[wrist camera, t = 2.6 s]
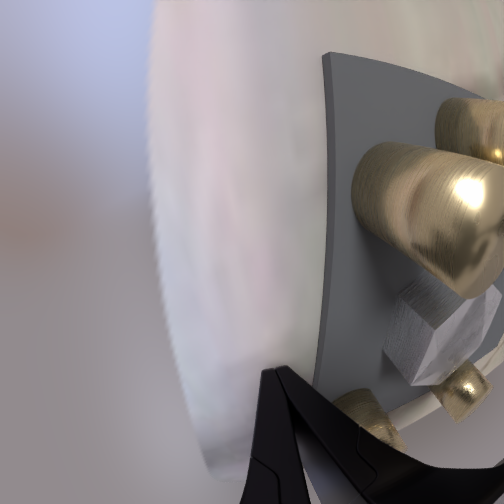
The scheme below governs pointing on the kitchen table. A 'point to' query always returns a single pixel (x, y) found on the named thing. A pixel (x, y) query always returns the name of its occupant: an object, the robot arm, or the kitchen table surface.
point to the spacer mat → (363, 241)
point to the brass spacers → (438, 229)
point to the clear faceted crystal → (436, 329)
